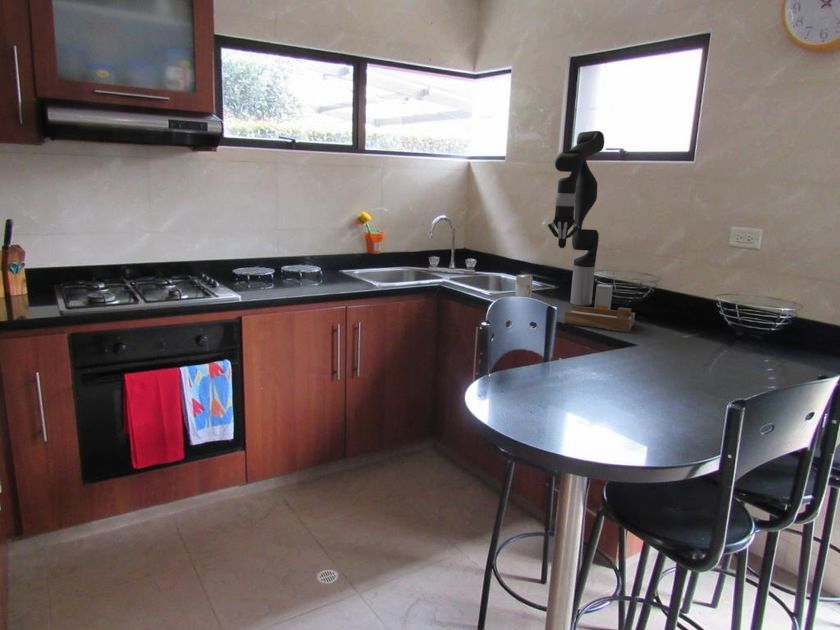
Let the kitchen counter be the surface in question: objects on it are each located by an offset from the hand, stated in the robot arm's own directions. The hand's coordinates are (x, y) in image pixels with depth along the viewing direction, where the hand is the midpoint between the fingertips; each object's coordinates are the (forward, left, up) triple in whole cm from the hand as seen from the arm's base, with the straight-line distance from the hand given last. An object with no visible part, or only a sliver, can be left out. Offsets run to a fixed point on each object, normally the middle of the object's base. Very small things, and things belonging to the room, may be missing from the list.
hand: (561, 247), depth 250 cm
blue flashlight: (+6, -13, -27) cm, 31 cm away
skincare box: (-9, +17, -27) cm, 33 cm away
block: (+8, +28, -24) cm, 38 cm away
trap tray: (+11, +20, -27) cm, 35 cm away
